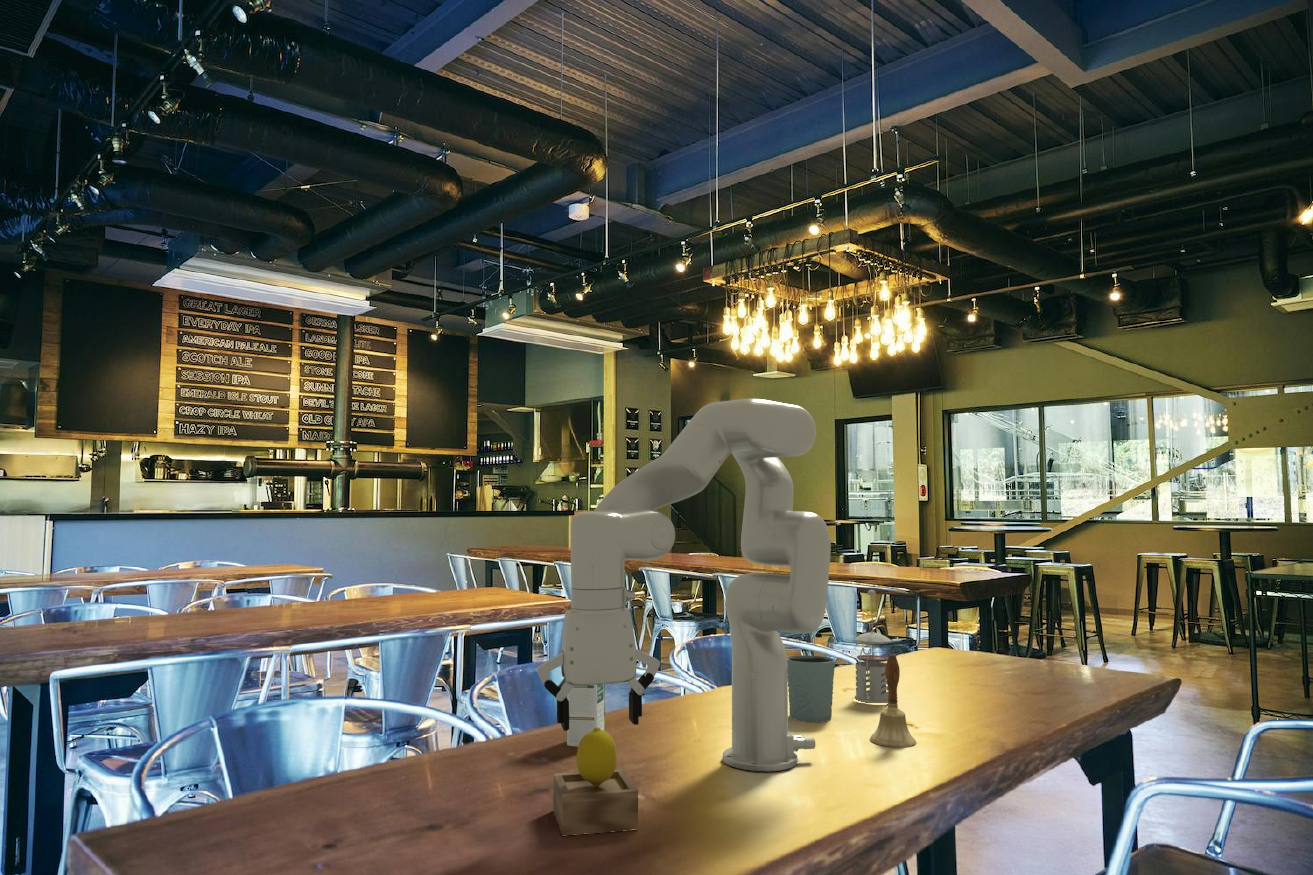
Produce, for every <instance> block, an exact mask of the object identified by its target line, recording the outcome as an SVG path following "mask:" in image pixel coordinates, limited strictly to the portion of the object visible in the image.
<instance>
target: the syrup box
mask: <svg viewBox="0 0 1313 875" xmlns="http://www.w3.org/2000/svg"><path fill="white" fill-rule="evenodd" d="M605 688H606V684H598V685H583V686H574V687H573V688H572V690H571V691H570V692H569V694H568V695H567V699H568V701H569V729H568V731H566V745H567V746H569V747H574V748H575V747H576V748H578V746H579V743H580V741H581V739H582V737H583V736H584V735H585V734H586V733H588V732H589V731H592V730H593V729H594V728H596V727H599V728H600V729H601V730H603V731H605V732H606V695H605V694H606V692H605V691H606V689H605Z"/></svg>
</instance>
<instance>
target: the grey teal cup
mask: <svg viewBox="0 0 1313 875" xmlns="http://www.w3.org/2000/svg"><path fill="white" fill-rule="evenodd" d="M787 664H788V668H787V681H788V706H789V717H790V718H791V717H792V718H794V719H796V720H795V721H798V720H800V721H799V722H803V721H805V722H806V723H824V722H823V721H825V722H828V721H827V720H829V721H831V719H832V714H833V712H832V711H833V709H832V706H833V700H834V698H833V694H834V692H833V690H834V678H835V677H834V676H835V668H836V666H835V665H836V659H835V658H831V657H827V656H822V655H821V656H820V655H804V654H803V655H790V656H787ZM792 718H791V719H792ZM794 719H793V720H794ZM805 722H804V723H805Z"/></svg>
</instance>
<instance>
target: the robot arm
mask: <svg viewBox="0 0 1313 875" xmlns="http://www.w3.org/2000/svg"><path fill="white" fill-rule="evenodd" d="M815 422H816V421H815V420H814V418H813V416H812V415H811V414H810V412H809V411H807V410H806V409H805V408H803V407H801V406H800V405H795V404H789V403H783V402H779V401H773V400H768V399H762V398H742V399H734V400H732V399H731V400H722V401H716V402H711V403H708V404H706V405H704V406H702V407H701V408H699V410H698V411H697V412H696V413H695V414H694V415H693V416H692V417H691V419H690V420H689V421H688V423H687V424H686V425H685V427H683V429H682V430H681V432H679V434H678V435H677V436H676V438H675V439H673V441H672V443H670V445H669V446H668V447H667V449H666V450H665V451H664V453H662V454H661V455H660V456H659V457H657V458H655V459H654V460H652V461H650V462H649V463H647V464H645V465H644V466H642V467H640V468H639V469H638V470H636V471H635V472H633V473H632V474H630V475H628V476H626V477H625V478H624V479H623V480H621V481H620V482H618V483H617V484H616V485H615V486H613V488H611V489H610V491H608V493H607V494H606V495H605V496H604V497H603V498H602V499H601V501H600V502H599V504H598V505H597V506H596V507H595V509H594V510H593V511H584V512H583V511H582V512H578V513H576V514H574V515H573V516H572V518H571V521H570V587H571V588H570V597H571V598H570V603H571V607H570V608H571V609H567V610H565V614H564V619H563V624H562V634H561V635H562V637H561V650H560V651H561V652H560V653H558V654H556V655H555V656H553V657H551V658H549V659H548V660H547V661H544V662H543V663H542V664H540V665H538V666H537V667H536V668H535V671H536V673H537V675H538V677H539V679H540V682H541V683H542V684H543V687H544V689H546V690H547V691H548V692H549V693H550V694H551V696H554V698H555V699H556V723H557V724H560V725H561V728H562V731H565V732H567V731H568V729H569V701H568V699H567V695H568V694H569V692H570V691H571V690H572V688H573V687H574V686H583V685H598V684H605V685H609V684H610V685H611V684H622V683H626V684H628V685H629V687H630V691H629V692H628V720H629V721H630V722H631V724H633V725H634V726H637V725H639V721H640V720H639V718H640V717H642V716H643V694H644V693H645V691H646V690H647V688H648V687H649V686H650V685H651V684H652V683H653V681H654V679H655V676H656V675H657V672H658V670H659V668H660V666H661V660H659V659H657V658H656V657H654V656H652V655H649V654H648V653H645V652H644V651H641V650H639V649H637V648H636V642H635V641H636V640H635V632H634V626H633V619H632V614H631V611H630V610H631V609H630V608H629V607H627V603H628V602H630V601H635V600H636V591H635V590H634V589H633V590H630V589H627V587H626V585H625V584H626V578H625V577H626V576H625V574H626V573H625V562H626V561H636V562H637V561H640V562H650V561H652V562H653V561H657V560H659V559H661V558H663V557H664V556H666V555H667V554H668V553H669V552H670V550H671V549H673V548H672V547H673V546H674V544H675V541H676V530H675V526H674V524H673V522H672V520H671V519H670V518H669V516H667V515H666V514H664V512H661V511H659V510H657V509H660V508H662V507H665V506H668V505H671V504H676V503H678V502H682V501H684V500H685V499H686V500H687V499H689V498H691V497H693V496H695V495H697V494H698V493H700V492H702V491H703V490H705V488H706V487H707V486H708V485H709V483H710V481H712V479H713V477H714V476H715V475H716V473H717V472H718V470H719V469H720V467H722V465H723V464H724V462H725V461H726V460H727V458H728V457H729V456H730V455H732V456H733V458H734V459H735V460H736V462H737V465H738V466H739V468H740V469H741V472H742V475H743V478H744V482H745V483H744V484H745V498H744V505H743V506H744V507H743V516H742V524H741V526H742V527H741V536H740V549H741V553H742V556H743V558H744V559H745V560H746V561H747V562H749V563H751V564H754V565H759V566H768V567H781V568H783V567H785V568H789V572H790V573H789V574H779V573H769V572H768V573H765V572H749V573H743V574H740V575H738V576H736V577H735V578H734V579H733V580H732V581H731V582H730V583H729V585H728V586H727V589H726V593H725V610H726V614H727V621H728V626H729V632H730V643H731V646H730V647H731V747H728V748H726V749H725V750H724V751H723V752H722V761H723V762H724V763H725V764H726V765H727V766H729V767H733V768H736V769H739V770H744V771H751V772H765V773H766V772H777V771H785V770H789V769H791V768H793V767H795V766H796V765H797V764H798V755H797V752H798V751H799V750H803V749H804V750H814V749H815V748H816V739H815V738H814V736H810V737H809V736H806V737H802V735H793V734H792V733H790V732H789V720H788V718H789V716H788V715H789V712H788V711H789V710H788V708H789V707H788V706H789V691H788V689H789V687H788V678H787V676H788V674H787V668H788V664H787V657H788V655H787V650H786V647H785V645H784V642H783V640H782V638H781V636H780V634H779V632H782V633H790V634H797V635H799V634H800V635H807V634H812V633H814V632H815V631H816V630H818V629H819V628H820V626H821V625H822V623H823V621H824V617H825V614H826V608H827V599H828V587H829V576H830V574H829V573H830V565H831V564H830V563H831V554H832V553H831V550H832V549H831V548H832V547H831V546H832V545H831V534H830V531H829V528H828V526H827V523H826V521H825V520H824V519H823V518H822V517H821V516H820V515H819V514H817V513H814V512H811V511H803V510H802V511H797V510H793V509H794V493H795V492H794V483H793V479H792V476H791V474H790V473H789V470H788V469H787V468H786V467H785V464H784V463H783V462H782V461H781V459H780V458H787V457H788V458H789V457H792V458H793V457H800V456H803V455H805V454H806V453H808V452H810V451H811V449H812V447H813V446H814V445H815V441H816V438H817V426H816V423H815ZM637 661H639V662H640V663H642V664H645V665H646V669H645V671H644V672H643V674H642V675H641V676H640V677H639V678H638V679H637V678H636V676H637ZM559 667H560V670H561V672H560V673H561V676H562V678H563V679H561V681H560V682H559V684H556V683H555V682H554V681H553V680H552V678H551V676H550V673H551V672H552V671H553V670H555V669H557V668H559Z"/></svg>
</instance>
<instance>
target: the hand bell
mask: <svg viewBox="0 0 1313 875" xmlns="http://www.w3.org/2000/svg"><path fill="white" fill-rule="evenodd" d="M887 657H888V660H887V661H886V662H885V663H886V668H885V674H886V681H887V684H888V685H887V684H886V685H887V686H888V690H889V691H888V690H887V692H888V705H887V708H884V709H882V710H880V713H879V714H880V716H879V722H878V726H877V728H876V730H875V732H873V734H871V736H870V738H869V740H870V742H872V743H874V744H876V745H880V746H884V747H888V748H910V747H914V746H916V745H917V741H916V739H915V738H914V736H912V734H911V732H910V731H909V728H908V724H907V719H906V718H907V717H906V714H905V712H904V711H902V710H901V709H899V707H898V685H899V682H900V676H901V674H900V672H901V671H900V665H899V661H898V659H897V655H896V653H888V656H887Z"/></svg>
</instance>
